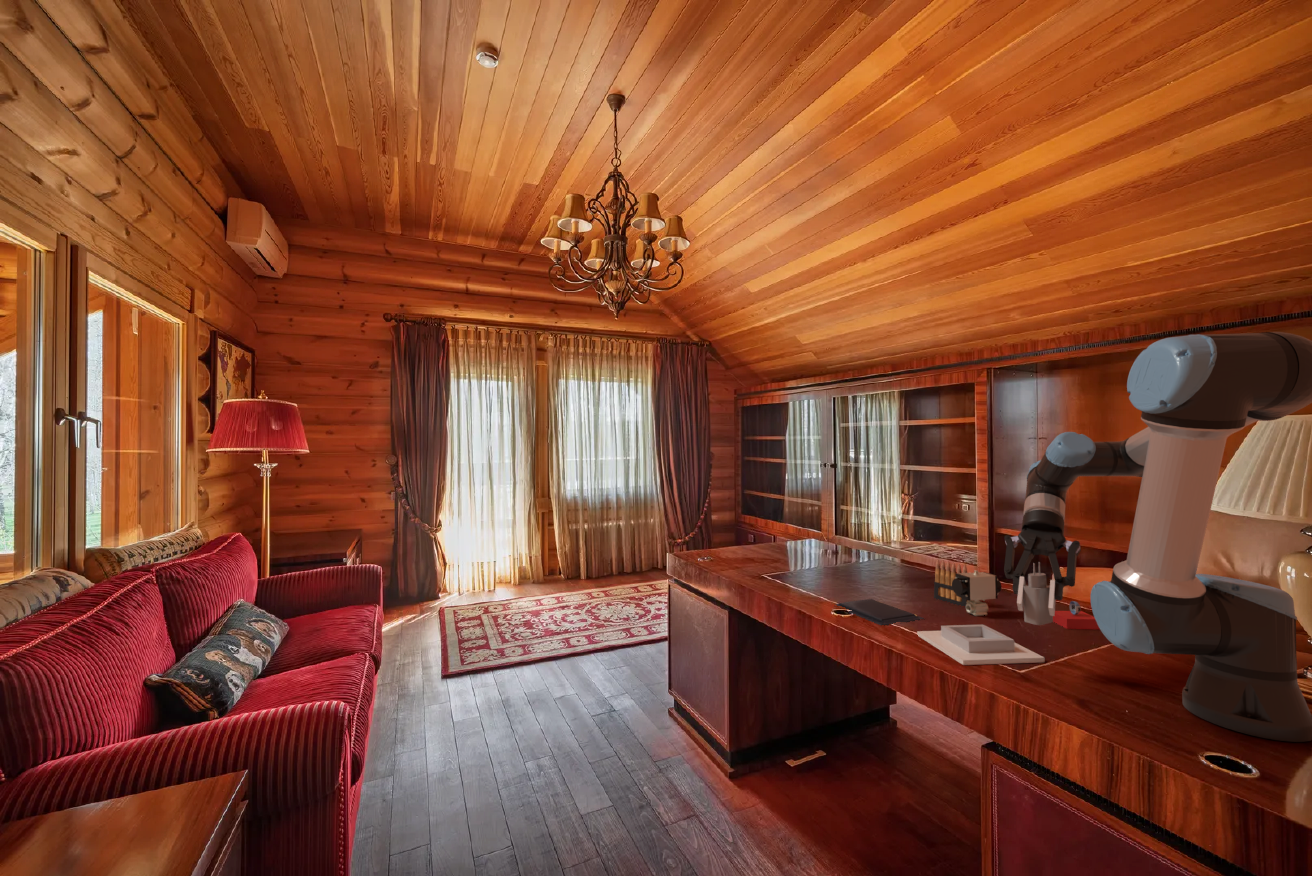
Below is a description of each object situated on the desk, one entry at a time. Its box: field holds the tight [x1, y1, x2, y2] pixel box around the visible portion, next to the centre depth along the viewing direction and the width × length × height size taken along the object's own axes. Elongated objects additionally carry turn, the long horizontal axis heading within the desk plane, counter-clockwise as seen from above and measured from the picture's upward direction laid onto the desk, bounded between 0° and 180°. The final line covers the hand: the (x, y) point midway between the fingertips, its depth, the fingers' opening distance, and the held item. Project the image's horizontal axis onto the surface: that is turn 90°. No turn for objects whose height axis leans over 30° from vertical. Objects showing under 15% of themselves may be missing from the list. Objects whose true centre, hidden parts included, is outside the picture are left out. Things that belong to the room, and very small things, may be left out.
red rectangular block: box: [1052, 600, 1101, 631], centre depth 138 cm, size 8×7×6 cm
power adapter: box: [1023, 561, 1054, 626], centre depth 110 cm, size 3×5×12 cm, turn 116°
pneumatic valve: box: [952, 569, 1002, 617], centre depth 148 cm, size 6×12×12 cm, turn 98°
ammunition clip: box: [933, 559, 971, 608], centre depth 159 cm, size 11×2×12 cm, turn 24°
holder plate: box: [916, 624, 1046, 666], centre depth 123 cm, size 18×18×4 cm
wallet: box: [835, 598, 925, 627], centre depth 150 cm, size 20×2×15 cm
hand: (1035, 609), depth 107 cm, fingers closed on power adapter, 4 cm apart
